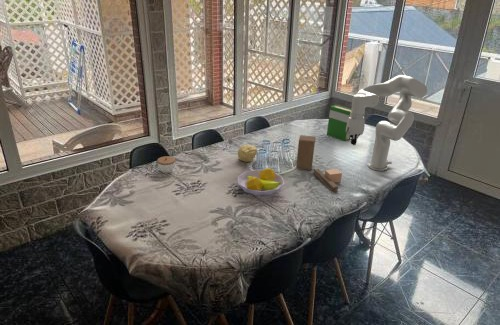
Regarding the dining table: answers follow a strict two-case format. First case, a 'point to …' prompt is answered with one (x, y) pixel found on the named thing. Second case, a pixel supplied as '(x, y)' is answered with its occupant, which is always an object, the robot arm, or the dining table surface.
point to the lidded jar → (166, 164)
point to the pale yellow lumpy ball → (247, 153)
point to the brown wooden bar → (326, 180)
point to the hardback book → (338, 122)
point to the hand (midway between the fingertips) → (353, 144)
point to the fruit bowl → (260, 182)
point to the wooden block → (305, 152)
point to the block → (334, 175)
